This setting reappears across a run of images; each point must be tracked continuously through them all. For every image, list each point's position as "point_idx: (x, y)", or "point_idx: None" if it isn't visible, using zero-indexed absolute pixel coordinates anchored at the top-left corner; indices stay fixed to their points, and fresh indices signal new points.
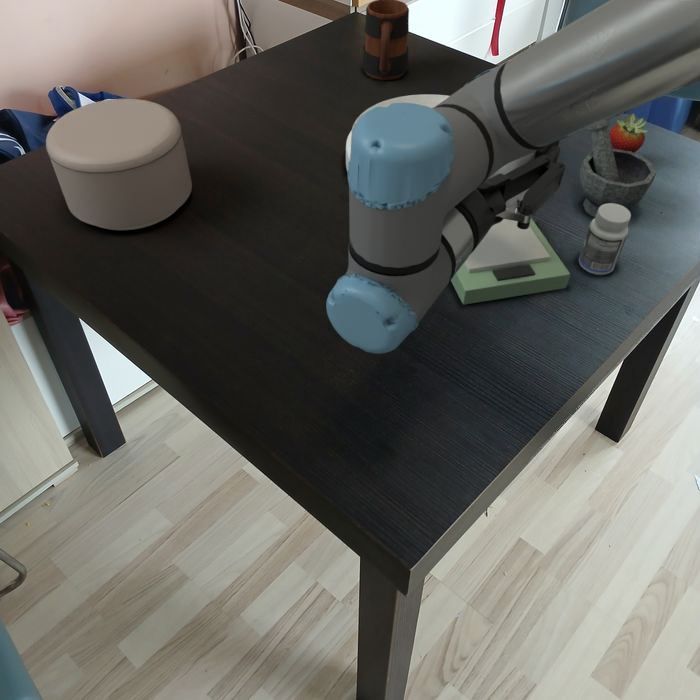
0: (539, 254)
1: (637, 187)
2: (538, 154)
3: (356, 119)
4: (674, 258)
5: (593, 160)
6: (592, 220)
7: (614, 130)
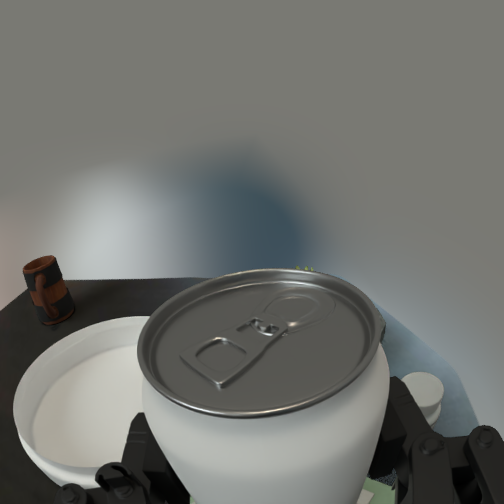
0: (359, 501)
1: (381, 334)
2: (392, 444)
3: (18, 386)
4: (443, 378)
5: None
6: None
7: None
